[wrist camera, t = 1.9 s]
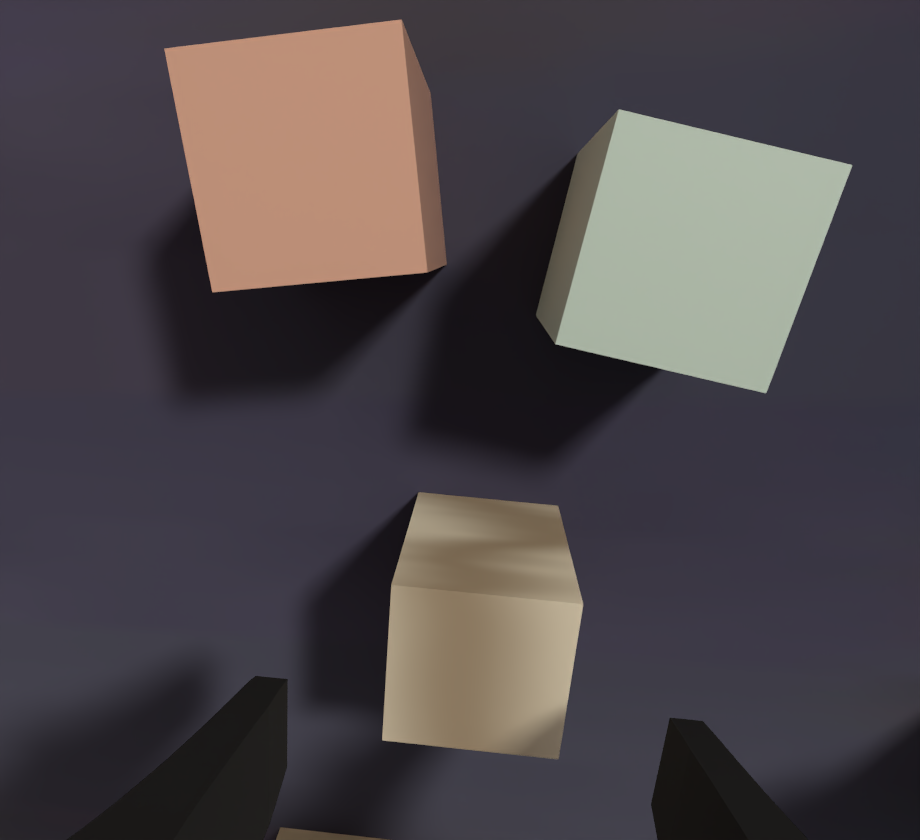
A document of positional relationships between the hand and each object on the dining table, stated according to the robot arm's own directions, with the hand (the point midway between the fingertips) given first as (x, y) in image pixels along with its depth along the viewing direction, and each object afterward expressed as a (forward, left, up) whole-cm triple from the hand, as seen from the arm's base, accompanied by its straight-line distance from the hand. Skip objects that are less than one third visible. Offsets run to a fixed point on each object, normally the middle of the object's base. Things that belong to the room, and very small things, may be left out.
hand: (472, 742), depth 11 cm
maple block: (0, 0, -7) cm, 7 cm away
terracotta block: (+4, -10, -7) cm, 13 cm away
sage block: (-3, -9, -7) cm, 12 cm away
